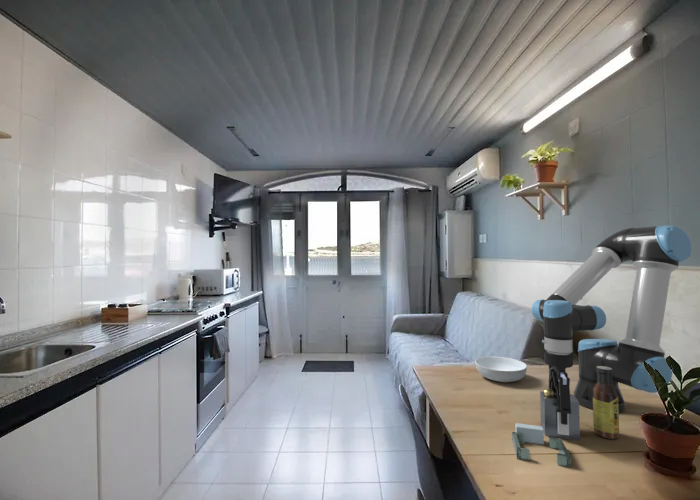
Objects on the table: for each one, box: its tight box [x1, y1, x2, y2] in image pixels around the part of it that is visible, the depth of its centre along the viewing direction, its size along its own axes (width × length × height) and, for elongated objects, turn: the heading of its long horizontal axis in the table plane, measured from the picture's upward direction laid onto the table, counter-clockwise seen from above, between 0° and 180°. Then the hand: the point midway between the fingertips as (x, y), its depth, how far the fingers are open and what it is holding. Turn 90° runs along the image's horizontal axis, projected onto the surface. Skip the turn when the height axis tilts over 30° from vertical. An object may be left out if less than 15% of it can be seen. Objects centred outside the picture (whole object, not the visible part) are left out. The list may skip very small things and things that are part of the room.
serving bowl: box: [474, 355, 528, 383], centre depth 153 cm, size 21×21×7 cm
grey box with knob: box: [539, 388, 581, 441], centre depth 106 cm, size 9×6×13 cm, turn 72°
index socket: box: [511, 431, 572, 468], centre depth 95 cm, size 12×10×2 cm
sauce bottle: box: [592, 366, 620, 440], centre depth 105 cm, size 6×6×20 cm
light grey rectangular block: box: [514, 422, 545, 445], centre depth 101 cm, size 7×2×4 cm, turn 72°
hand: (559, 427), depth 106 cm, fingers open, 8 cm apart
